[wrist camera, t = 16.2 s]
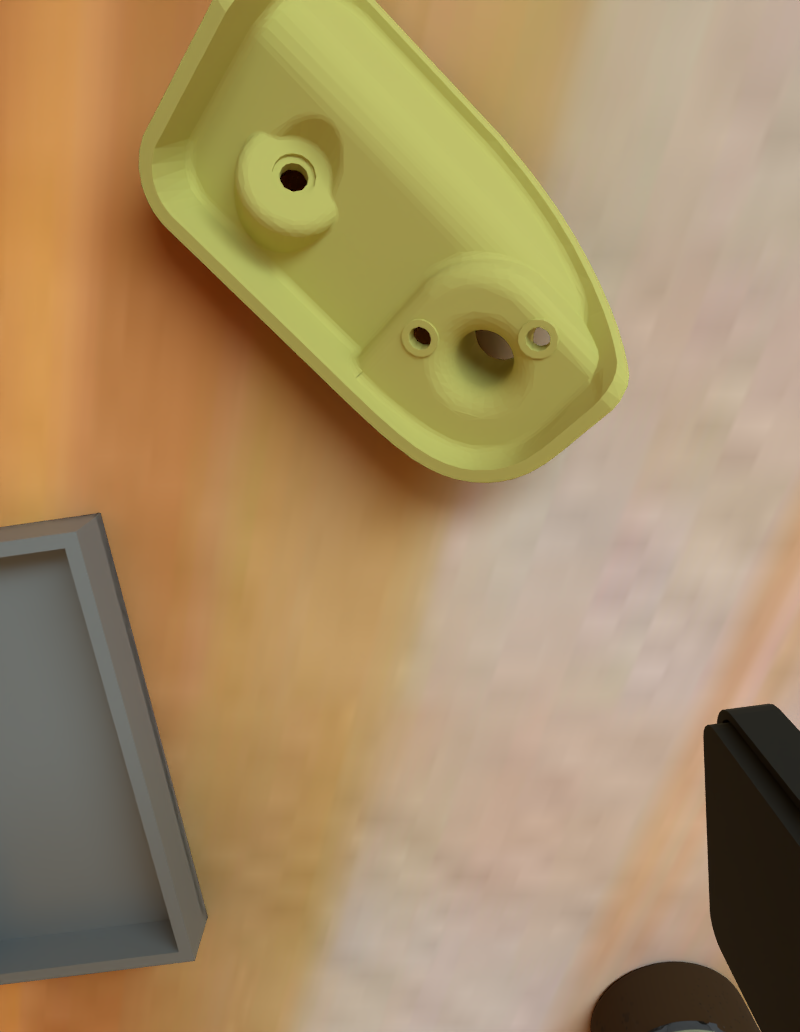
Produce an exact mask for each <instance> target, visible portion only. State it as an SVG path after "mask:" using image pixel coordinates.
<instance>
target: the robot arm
mask: <svg viewBox="0 0 800 1032" xmlns="http://www.w3.org/2000/svg"><path fill="white" fill-rule="evenodd" d="M704 764H705V791H706V818H707V845H708V872H709V899H710V916H711V922H712V926H713V930H714V934H715V937H716V940H717V943H718V945H719V947H720V950H721V952H722V954H723V956H724V958H725V960H726V962H727V964H728V966H729V968H730V970H731V972H732V974H733V976H734V978H735V980H736V982H737V984H738V986H739V988H740V990H741V992H742V994H743V996H744V998H745V1000H746V1002H747V1004H748V1006H749V1008H750V1010H751V1012H752V1014H753V1016H754V1018H755V1020H756V1022H757V1024H758V1026H759V1028H760V1030H761V1032H800V731H799V730H798V729H797V728H796V727H795V726H794V724H793V723H792V722H791V721H790V720H789V719H788V718H787V717H786V716H785V715H784V714H783V713H782V712H781V710H780V709H779V708H777V707H776V706H775V705H773V704H764V705H756V706H749V707H741V708H733V709H726V710H722V711H721V712H720V713H719V715H718V719H717V724H712V725H707V726H706V727H705V729H704Z"/></svg>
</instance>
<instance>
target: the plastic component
mask: <svg viewBox="0 0 800 1032" xmlns="http://www.w3.org/2000/svg"><path fill="white" fill-rule="evenodd" d="M287 170H297V171H298V172H300V173H302V174H303V175H304V177H305V179H306V181H307V185H306V186H305V188H304V189H303V190H300V191H295V192H293V191H291V190H289V189H286V188H284V186H283V185H282V183H281V181H280V176H281V174H282V173H284V172H285V171H287ZM139 172H140V178H141V184H142V187H143V190H144V193H145V196H146V198H147V201H148V203H149V205H150V206H151V208H152V210H153V212H154V213H155V215H156V216H157V217H158V219H159V220H160V221H161V223H162V224H163V225H164V226H165V227H166V228H167V229H168V230H169V231H170V232H171V233H172V234H173V235H174V236H175V237H176V238H177V239H178V240H179V241H180V242H181V243H183V244H184V245H185V246H186V247H187V248H188V249H189V250H190V251H191V252H192V253H193V254H194V255H195V256H196V257H197V258H198V259H199V260H200V261H201V262H202V263H203V264H204V265H205V266H206V267H207V268H208V269H209V270H210V271H211V272H213V273H214V274H215V275H216V276H217V277H218V278H219V279H220V280H221V281H222V282H223V283H224V284H225V285H226V286H227V287H228V288H229V289H230V290H231V291H232V292H233V293H234V294H235V295H236V296H237V297H238V298H239V299H240V300H241V301H242V302H244V303H245V304H246V305H247V306H248V307H249V308H250V309H251V310H252V311H253V312H254V313H255V314H256V315H257V316H258V317H259V318H260V319H261V320H262V321H263V322H264V323H265V324H266V325H267V326H268V327H269V328H270V329H271V330H272V331H274V332H275V333H276V334H277V335H278V336H279V337H280V338H281V339H282V340H283V341H284V342H285V343H286V344H287V345H288V346H289V347H290V348H291V349H292V350H293V351H294V352H295V353H296V354H297V355H298V356H299V357H300V358H301V359H302V360H304V361H305V362H306V363H307V364H308V365H309V366H310V367H311V368H312V369H313V370H314V371H315V372H316V373H317V374H318V375H319V376H320V377H321V378H322V379H323V380H324V381H325V382H326V383H327V384H328V385H329V386H330V387H331V388H332V389H333V390H335V391H336V392H337V393H338V394H339V395H340V396H341V397H342V398H343V399H344V400H345V401H346V402H347V403H348V404H349V405H350V406H351V407H352V408H353V409H354V410H355V411H357V412H358V413H359V414H360V415H361V416H362V417H363V418H364V419H365V420H366V421H367V422H368V423H369V424H371V425H372V426H373V427H374V428H375V429H376V430H377V431H378V432H379V433H380V434H382V435H383V436H384V437H385V438H386V439H387V440H389V441H390V442H391V443H392V444H393V445H395V446H396V447H397V448H398V449H400V450H401V451H402V452H404V453H405V454H406V455H408V456H409V457H410V458H412V459H413V460H415V461H417V462H418V463H420V464H422V465H423V466H425V467H427V468H428V469H430V470H433V471H435V472H437V473H439V474H441V475H444V476H447V477H450V478H453V479H457V480H462V481H468V482H480V483H491V482H501V481H506V480H511V479H515V478H517V477H520V476H523V475H525V474H528V473H530V472H532V471H534V470H535V469H537V468H539V467H541V466H542V465H544V464H546V463H547V462H548V461H550V460H551V459H553V458H554V457H555V456H556V455H558V454H559V453H560V452H561V451H563V450H564V449H565V448H566V447H568V446H569V445H570V444H571V443H573V442H574V441H575V440H576V439H577V438H579V437H580V436H581V435H582V434H583V433H585V432H586V431H587V430H588V429H589V428H591V427H592V426H593V425H594V424H596V423H597V422H598V421H599V420H601V419H602V418H603V417H604V416H606V415H607V414H608V413H609V412H611V411H612V410H613V409H614V407H615V406H616V405H617V404H618V403H619V401H620V400H621V398H622V396H623V394H624V392H625V390H626V388H627V386H628V379H629V371H628V365H627V360H626V355H625V351H624V347H623V344H622V340H621V337H620V333H619V330H618V327H617V324H616V321H615V319H614V316H613V313H612V311H611V308H610V306H609V303H608V301H607V299H606V296H605V294H604V292H603V290H602V287H601V285H600V283H599V281H598V279H597V277H596V275H595V273H594V271H593V269H592V267H591V265H590V263H589V261H588V259H587V257H586V255H585V254H584V252H583V250H582V248H581V246H580V245H579V243H578V241H577V239H576V237H575V236H574V234H573V233H572V231H571V229H570V228H569V226H568V225H567V223H566V221H565V220H564V218H563V217H562V215H561V213H560V212H559V210H558V209H557V207H556V206H555V204H554V203H553V202H552V200H551V199H550V197H549V196H548V195H547V193H546V192H545V190H544V189H543V188H542V186H541V185H540V183H539V182H538V181H537V179H536V178H535V177H534V176H533V174H532V173H531V172H530V170H529V169H528V168H527V167H526V165H525V164H524V163H523V162H522V160H521V159H520V158H519V157H518V156H517V154H516V153H515V152H514V151H513V150H512V148H511V147H510V146H509V145H508V144H507V142H506V141H505V140H504V139H503V138H502V136H501V135H500V134H499V133H498V132H497V131H496V130H495V129H494V128H493V127H492V126H491V125H490V124H489V122H488V121H487V120H486V119H485V118H484V117H483V116H482V115H481V114H480V113H479V112H478V111H477V110H476V109H475V107H474V106H473V105H472V104H471V103H470V102H469V101H468V100H467V99H466V98H465V97H464V96H463V95H462V93H461V92H460V91H459V90H458V89H457V88H456V87H455V86H454V85H453V84H452V83H451V82H450V81H449V80H448V78H447V77H446V76H445V75H444V74H443V73H442V72H441V71H440V70H439V69H438V68H437V67H436V66H435V65H434V63H433V62H432V61H431V60H430V59H429V58H428V57H427V56H426V55H425V54H424V53H423V52H422V51H421V50H420V48H419V47H418V46H417V45H416V44H415V43H414V42H413V41H412V40H411V39H410V38H409V37H408V36H407V34H406V33H405V32H404V31H403V30H402V29H401V28H400V27H399V26H398V25H397V24H396V23H395V22H394V21H393V19H392V18H391V17H390V16H389V15H388V14H387V13H386V12H385V11H384V10H383V9H382V8H381V7H380V6H379V4H378V3H377V2H376V1H375V0H213V1H212V2H211V4H210V6H209V8H208V10H207V12H206V14H205V16H204V18H203V20H202V22H201V24H200V26H199V28H198V30H197V32H196V34H195V36H194V38H193V40H192V42H191V43H190V45H189V47H188V49H187V51H186V53H185V55H184V57H183V59H182V61H181V63H180V65H179V67H178V69H177V71H176V73H175V75H174V77H173V79H172V81H171V83H170V84H169V86H168V88H167V90H166V92H165V94H164V96H163V98H162V100H161V102H160V104H159V106H158V108H157V110H156V112H155V114H154V116H153V118H152V120H151V122H150V124H149V125H148V127H147V129H146V131H145V133H144V135H143V138H142V142H141V146H140V150H139ZM416 327H422V328H424V329H426V330H427V331H428V332H429V333H430V337H431V342H430V344H425V345H423V344H421V343H419V342H418V341H417V340H416V338H415V337H414V328H416ZM537 327H541V328H543V329H545V330H547V332H548V333H549V335H550V342H549V343H548V344H547V345H544V346H539V345H537V344H535V343H534V342H533V333H534V331H535V330H536V328H537ZM475 330H488V331H492V332H495V333H496V334H498V335H500V336H501V337H502V338H504V339H505V340H506V341H507V343H508V344H509V345H510V347H511V349H512V352H513V356H514V358H511V359H507V360H501V359H495V358H493V357H491V356H488V355H487V354H486V353H485V352H484V351H483V350H482V349H481V348H480V346H479V344H478V342H477V339H476V333H475Z"/></svg>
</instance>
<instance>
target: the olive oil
mask: <svg viewBox="0 0 800 1032" xmlns="http://www.w3.org/2000/svg"><path fill="white" fill-rule="evenodd" d="M591 1032H760V1030H759V1028H758V1027H757V1025H756V1023H755V1021H754V1019H753V1017H752V1015H751V1013H750V1011H749V1010H748V1008H747V1006H746V1004H745V1002H744V1000H743V998H742V997H741V995H740V993H739V992H738V990H737V989H736V988H735V987H734V985H733V984H732V983H731V982H730V981H729V980H728V979H727V978H725V977H724V976H723V975H721V974H719V973H718V972H716V971H714V970H712V969H709V968H707V967H704V966H701V965H697V964H692V963H685V962H665V963H658V964H653V965H649V966H646V967H643V968H640V969H638V970H635V971H633V972H631V973H629V974H627V975H626V976H624V977H622V978H621V979H619V980H618V981H617V982H615V983H614V984H613V985H612V986H611V987H610V988H609V989H608V990H607V991H606V992H605V993H604V995H603V996H602V997H601V999H600V1000H599V1002H598V1003H597V1005H596V1007H595V1010H594V1012H593V1016H592V1020H591Z"/></svg>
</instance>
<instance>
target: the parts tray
mask: <svg viewBox="0 0 800 1032" xmlns="http://www.w3.org/2000/svg"><path fill="white" fill-rule="evenodd" d="M207 918H208V916H207V913H206V909H205V905H204V901H203V898H202V894H201V890H200V886H199V882H198V879H197V875H196V871H195V867H194V864H193V860H192V856H191V852H190V849H189V845H188V841H187V837H186V833H185V830H184V826H183V822H182V818H181V815H180V811H179V807H178V803H177V800H176V796H175V792H174V788H173V784H172V781H171V777H170V773H169V769H168V766H167V762H166V758H165V754H164V751H163V747H162V743H161V739H160V735H159V732H158V728H157V724H156V720H155V717H154V713H153V709H152V705H151V702H150V698H149V694H148V690H147V686H146V683H145V679H144V675H143V671H142V668H141V664H140V660H139V656H138V653H137V649H136V645H135V641H134V637H133V634H132V630H131V626H130V622H129V619H128V615H127V611H126V607H125V604H124V600H123V596H122V592H121V588H120V585H119V581H118V577H117V573H116V570H115V566H114V562H113V558H112V555H111V551H110V547H109V543H108V539H107V536H106V532H105V528H104V524H103V521H102V517H101V513H97V514H90V515H83V516H76V517H69V518H62V519H55V520H48V521H41V522H34V523H27V524H20V525H13V526H6V527H0V985H3V984H11V983H19V982H27V981H35V980H43V979H52V978H60V977H68V976H76V975H84V974H92V973H100V972H108V971H116V970H124V969H132V968H141V967H149V966H157V965H165V964H173V963H181V962H189V961H195V958H196V955H197V951H198V948H199V944H200V941H201V938H202V934H203V931H204V928H205V924H206V921H207Z"/></svg>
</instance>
